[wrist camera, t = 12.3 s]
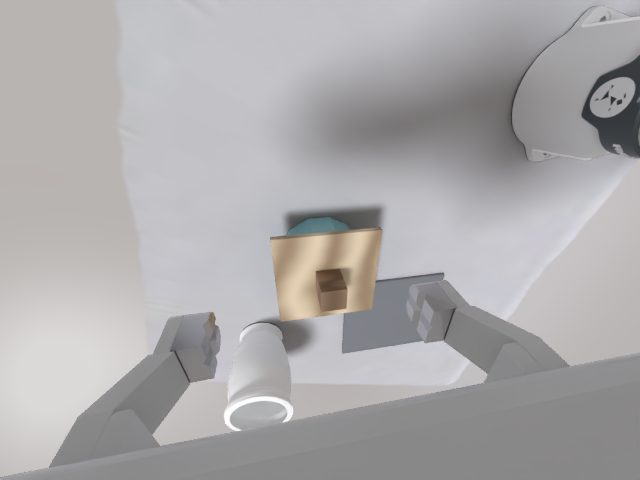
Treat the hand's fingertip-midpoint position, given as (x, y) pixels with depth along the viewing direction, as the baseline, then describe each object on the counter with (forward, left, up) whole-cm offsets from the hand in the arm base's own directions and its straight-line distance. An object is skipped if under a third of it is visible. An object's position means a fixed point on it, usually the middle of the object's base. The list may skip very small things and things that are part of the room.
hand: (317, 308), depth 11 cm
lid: (-5, +17, -22) cm, 28 cm away
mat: (-20, +35, -29) cm, 49 cm away
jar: (+7, +36, -29) cm, 46 cm away
